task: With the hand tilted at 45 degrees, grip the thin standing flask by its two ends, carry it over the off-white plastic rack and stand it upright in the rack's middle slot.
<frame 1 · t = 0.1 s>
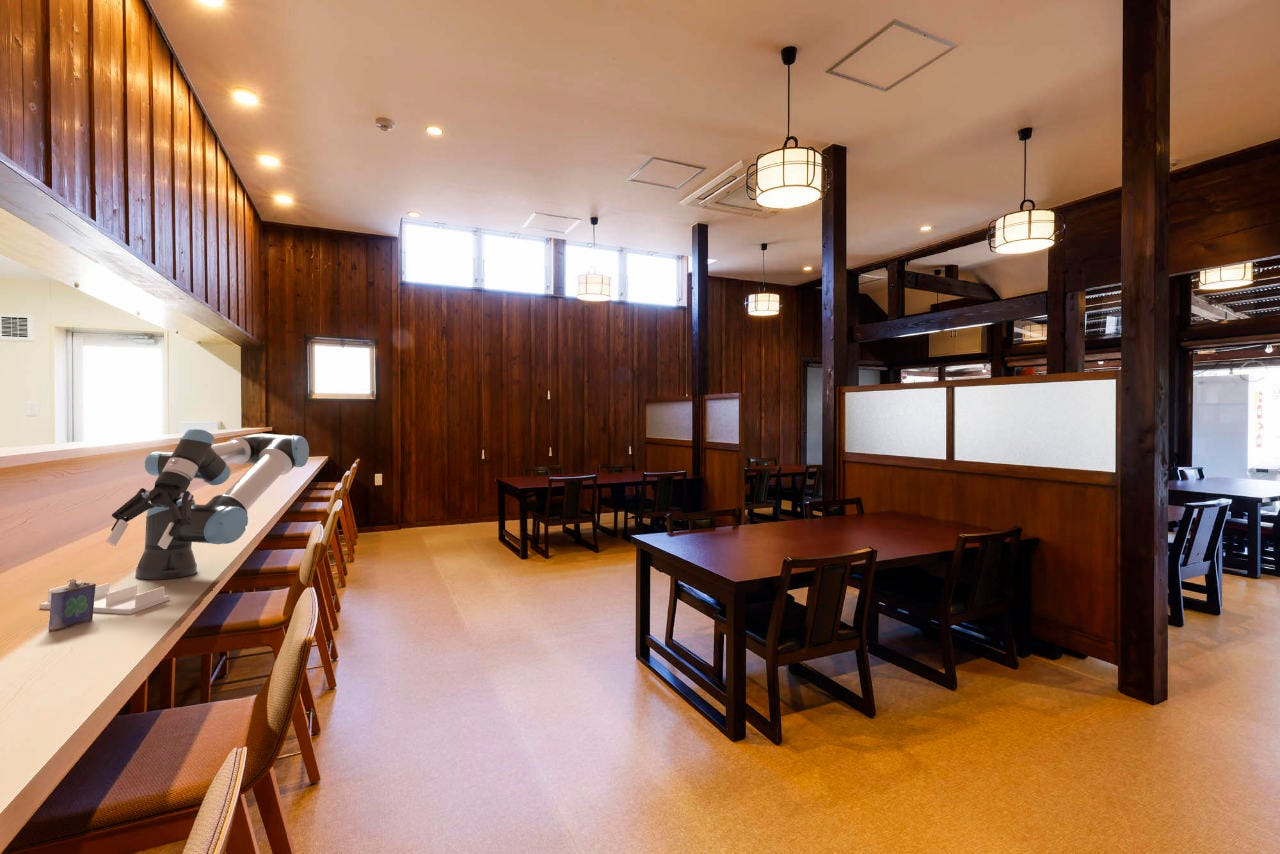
hand: (136, 545, 161), 15 cm above the counter, tool tilted 35°, fingers open, 13 cm apart
rack: (107, 604, 159), on the counter
flask: (70, 626, 143), on the counter
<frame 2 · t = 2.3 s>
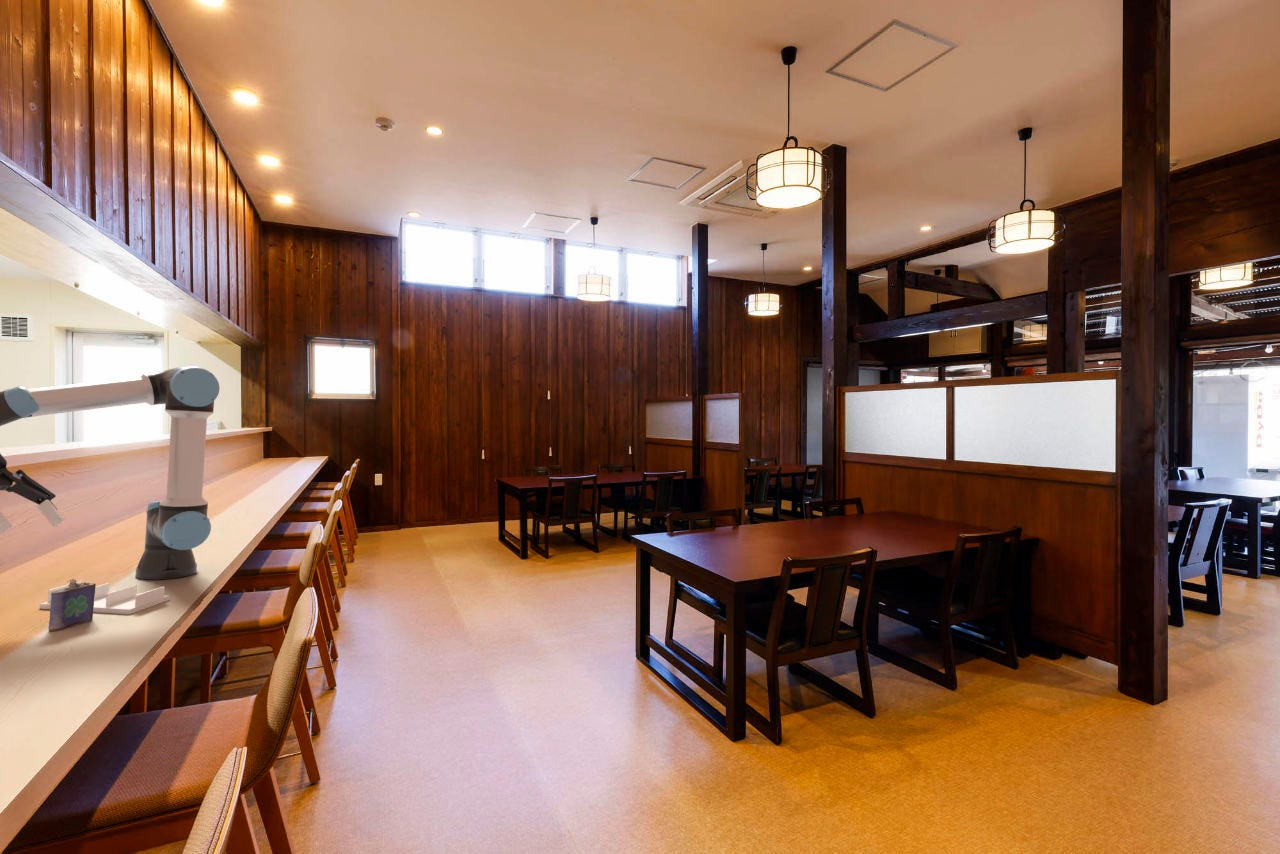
hand: (33, 526, 146), 22 cm above the counter, tool tilted 45°, fingers open, 13 cm apart
nothing on the counter moved.
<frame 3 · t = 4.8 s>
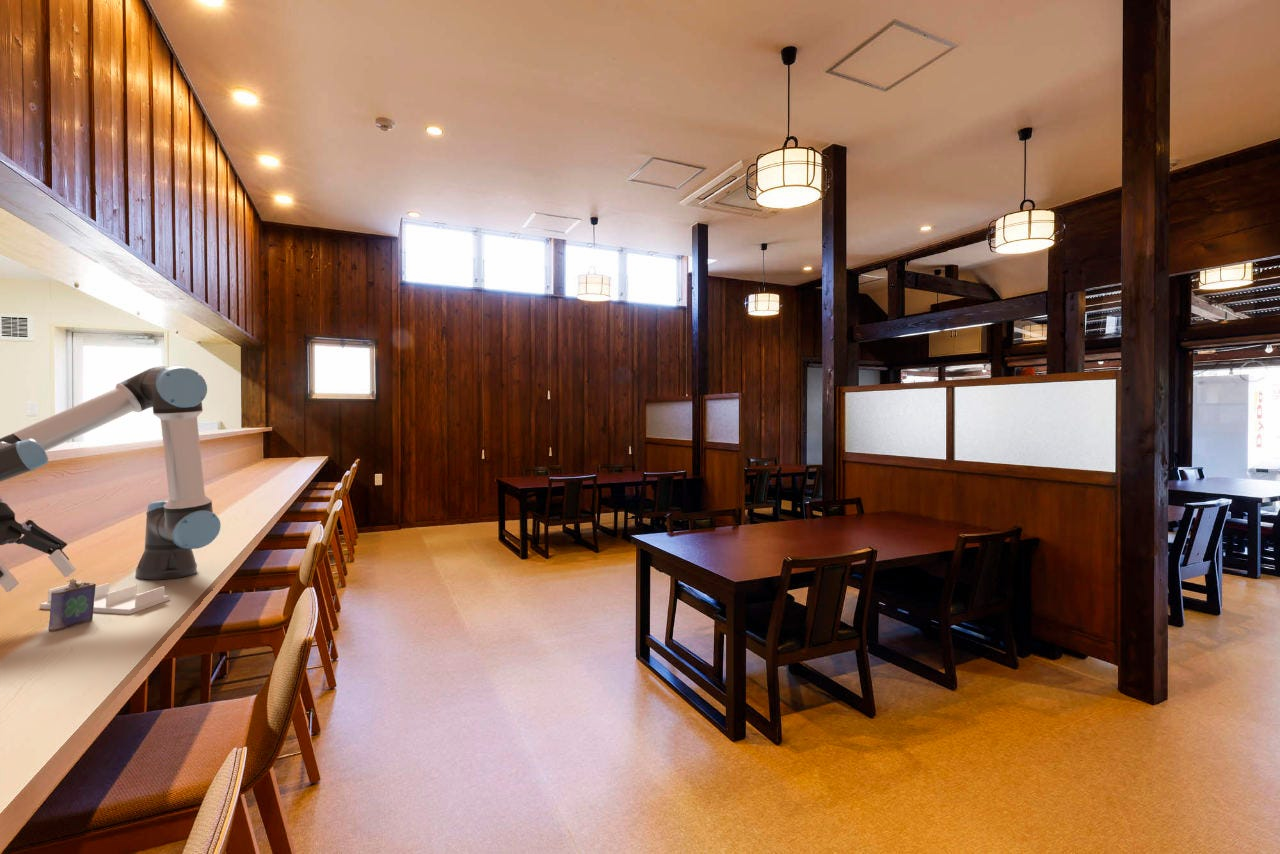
hand: (43, 580, 142), 10 cm above the counter, tool tilted 45°, fingers open, 13 cm apart
nothing on the counter moved.
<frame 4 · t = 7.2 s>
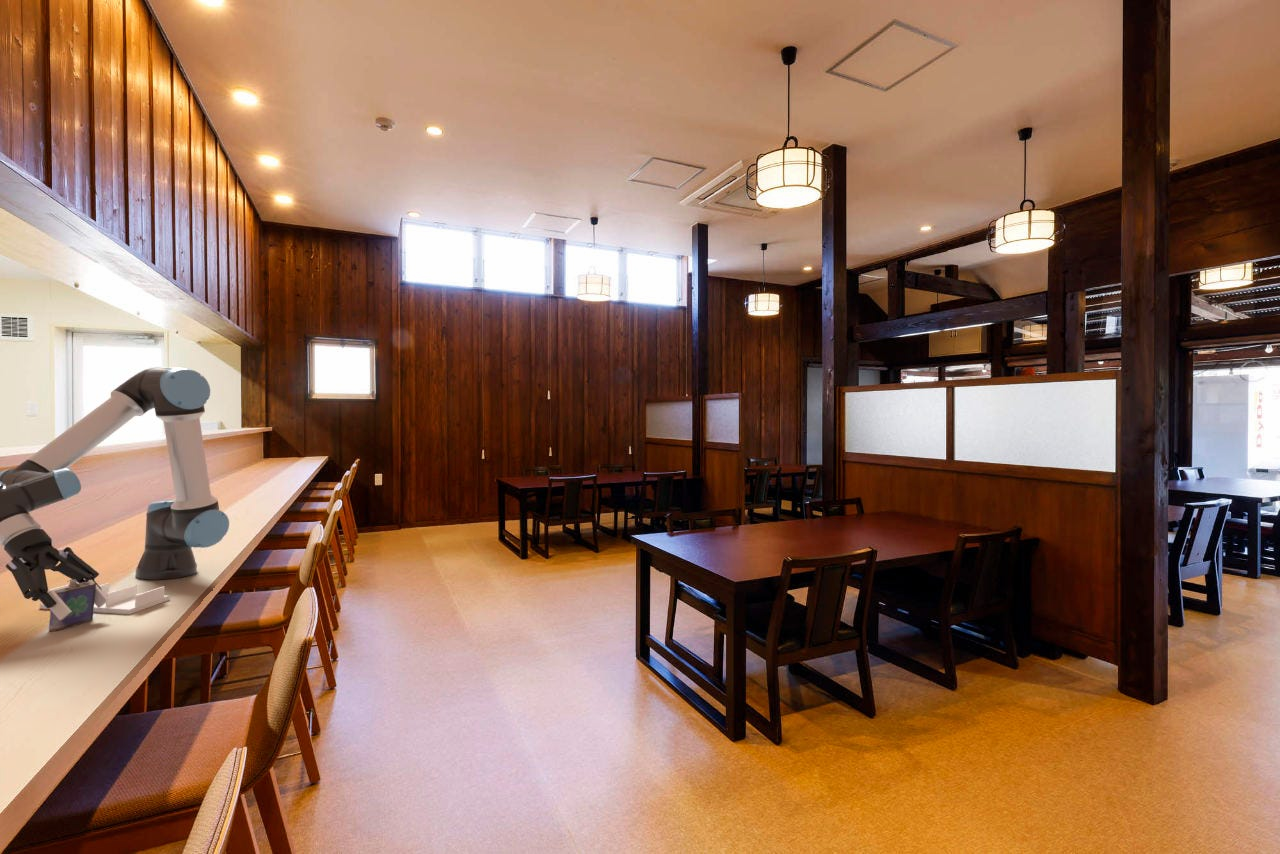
hand: (85, 609, 143), 4 cm above the counter, tool tilted 45°, fingers closed on flask, 9 cm apart
flask: (71, 625, 143), on the counter, touching gripper
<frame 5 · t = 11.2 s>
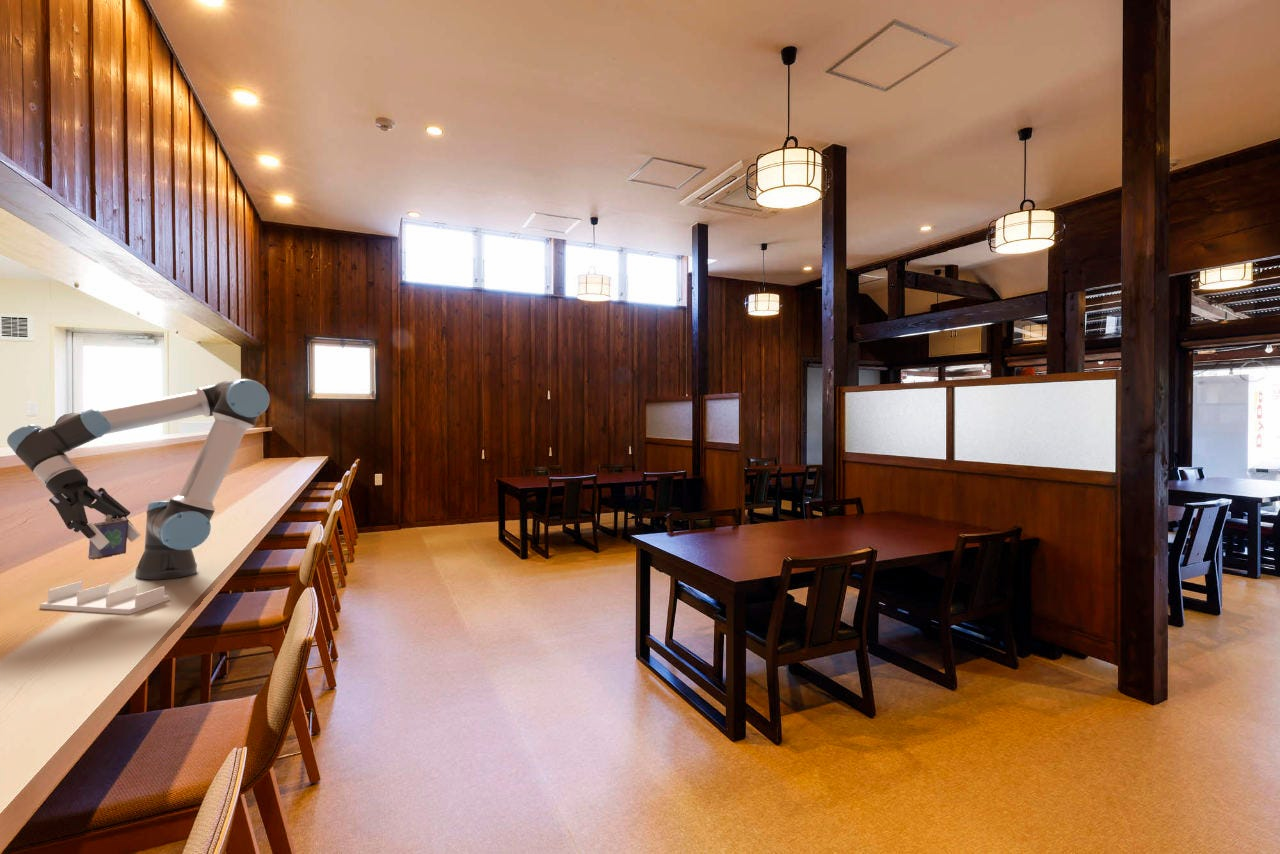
hand: (120, 542, 158), 17 cm above the counter, tool tilted 45°, fingers closed on flask, 9 cm apart
flask: (107, 556, 158), point 13 cm above the counter, touching gripper
when the fingers open (6 cm above the counter, at t = 15.2 s): flask drops 1 cm, resting on rack.
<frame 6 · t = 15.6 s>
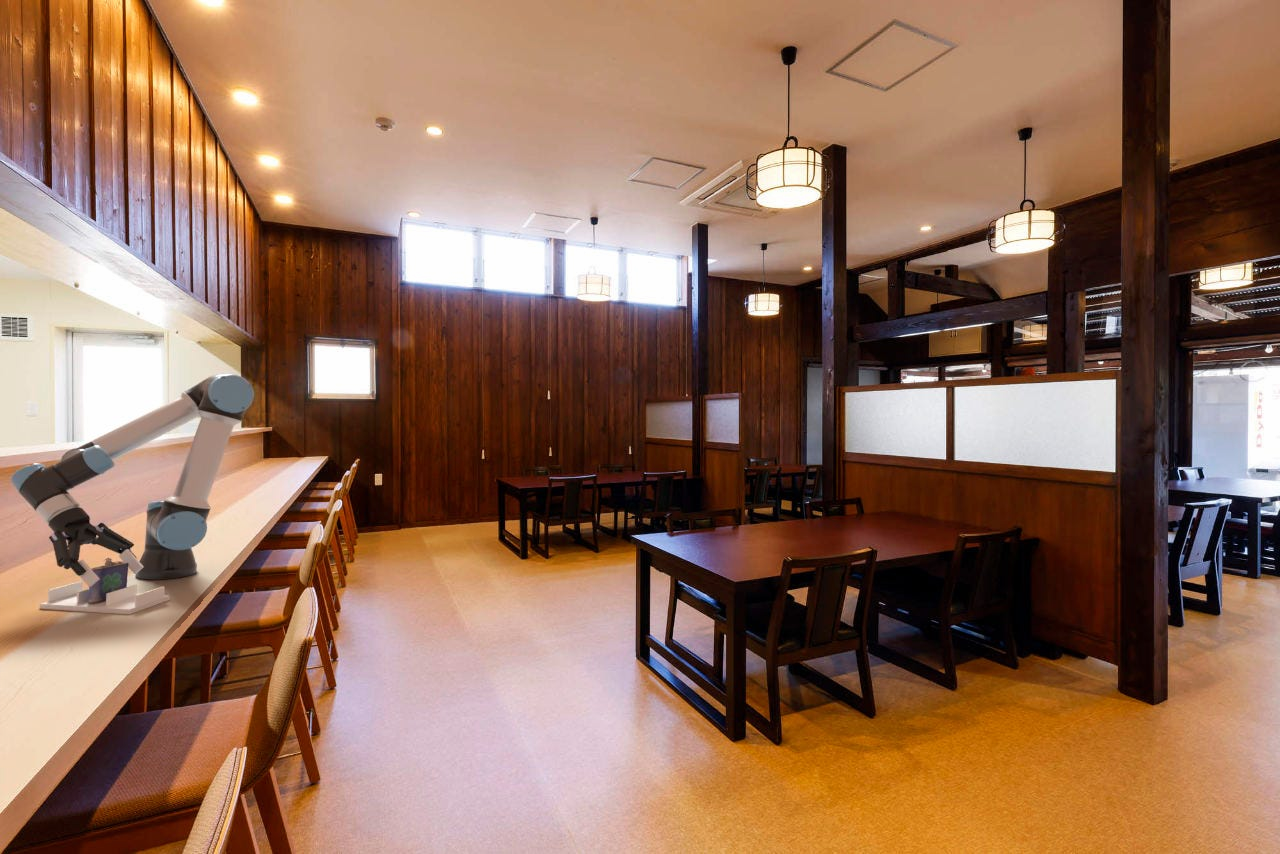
hand: (117, 576, 159), 7 cm above the counter, tool tilted 45°, fingers open, 13 cm apart
flask: (107, 600, 159), point 1 cm above the counter, touching rack
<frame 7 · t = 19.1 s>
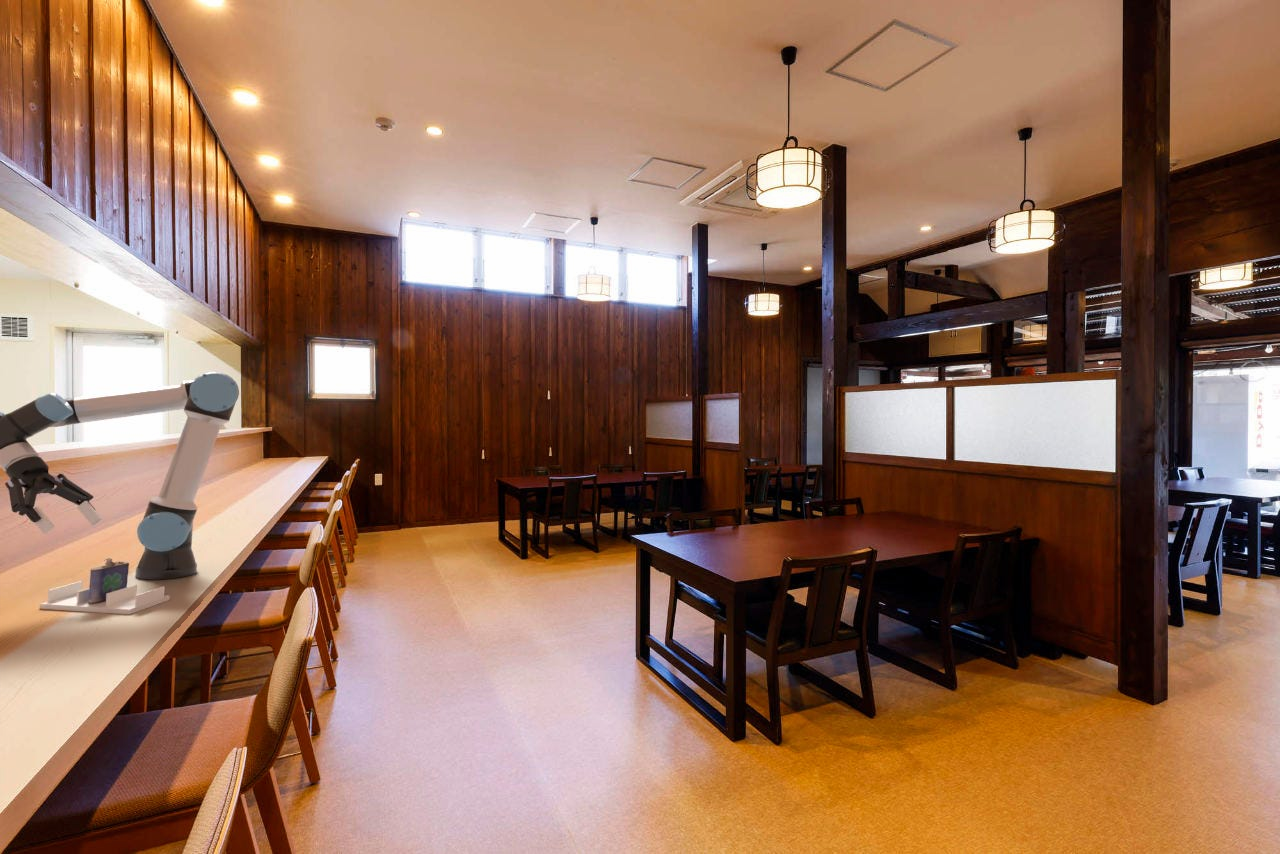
hand: (74, 526, 160), 20 cm above the counter, tool tilted 45°, fingers open, 13 cm apart
nothing on the counter moved.
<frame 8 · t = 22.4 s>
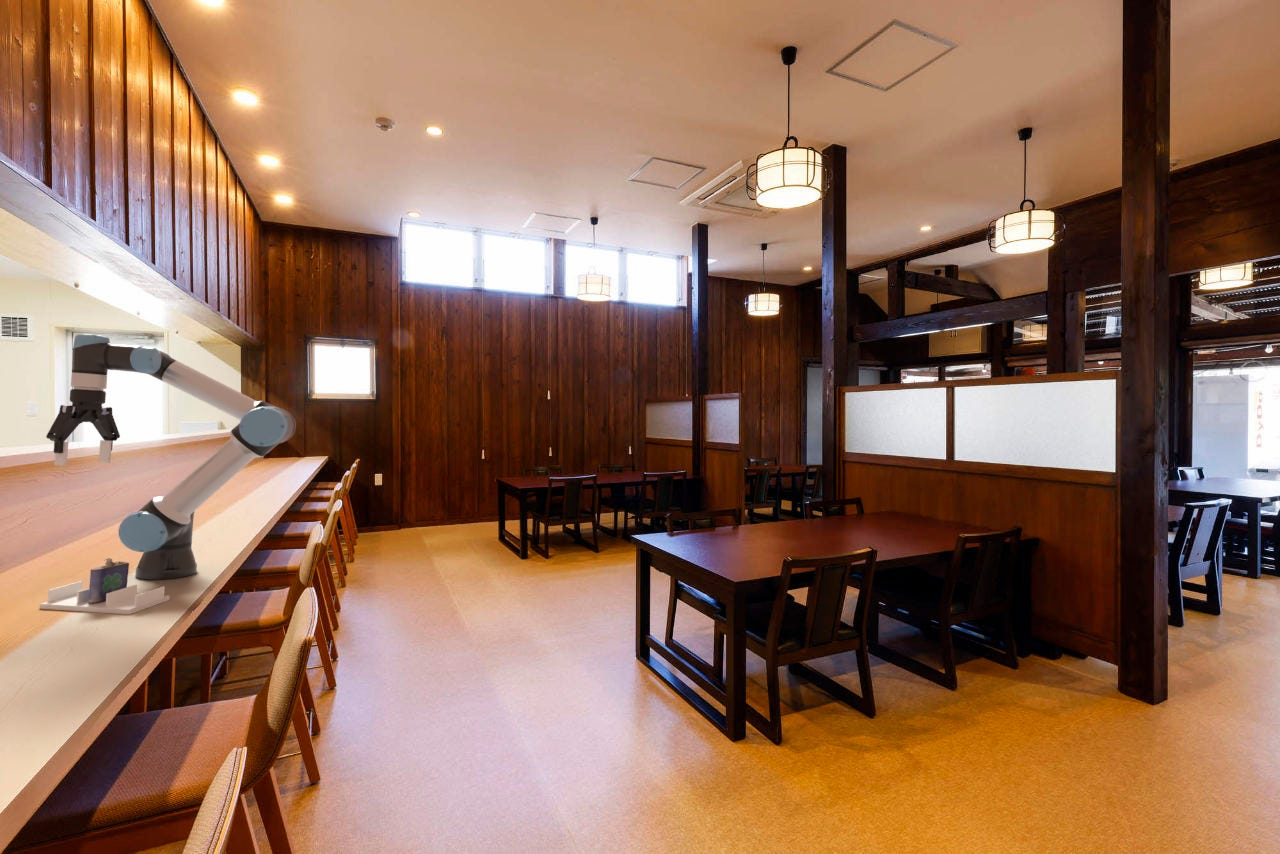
hand: (83, 464, 172), 35 cm above the counter, tool pointing down, fingers open, 13 cm apart
nothing on the counter moved.
at the end: flask 0.0 cm off-centre on the rack, point 1.0 cm above the rack's base; flask tilted 1°; the gripper is holding nothing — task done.
